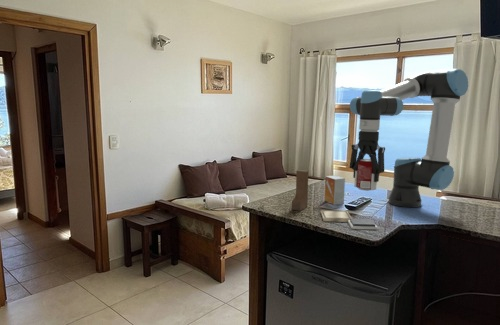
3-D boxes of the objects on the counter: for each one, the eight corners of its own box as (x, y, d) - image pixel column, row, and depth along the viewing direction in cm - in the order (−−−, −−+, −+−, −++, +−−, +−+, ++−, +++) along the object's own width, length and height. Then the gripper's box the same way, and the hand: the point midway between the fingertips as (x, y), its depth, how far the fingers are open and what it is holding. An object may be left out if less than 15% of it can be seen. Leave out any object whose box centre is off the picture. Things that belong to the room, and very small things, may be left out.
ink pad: (372, 222, 149) (372, 218, 148) (377, 229, 141) (377, 225, 141) (347, 222, 149) (348, 218, 149) (351, 228, 142) (352, 224, 141)
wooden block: (300, 211, 165) (301, 173, 162) (291, 209, 167) (292, 172, 164) (307, 206, 172) (308, 170, 169) (299, 205, 175) (300, 169, 172)
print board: (347, 213, 162) (347, 210, 161) (352, 222, 150) (352, 218, 150) (320, 212, 163) (320, 209, 162) (323, 221, 151) (323, 218, 150)
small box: (324, 201, 182) (325, 176, 180) (334, 199, 185) (335, 175, 183) (333, 205, 175) (334, 179, 173) (344, 203, 178) (345, 178, 175)
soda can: (371, 191, 139) (373, 161, 137) (354, 189, 142) (356, 159, 140) (375, 188, 144) (377, 159, 142) (358, 186, 148) (360, 157, 146)
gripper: (342, 129, 145) (339, 184, 148) (387, 132, 130) (382, 194, 133) (352, 129, 149) (349, 182, 153) (397, 132, 135) (392, 191, 138)
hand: (365, 187), depth 143 cm, fingers closed on soda can, 7 cm apart
